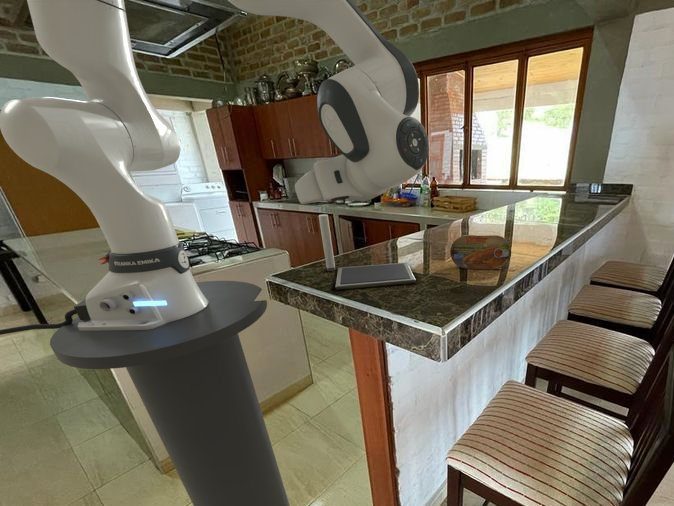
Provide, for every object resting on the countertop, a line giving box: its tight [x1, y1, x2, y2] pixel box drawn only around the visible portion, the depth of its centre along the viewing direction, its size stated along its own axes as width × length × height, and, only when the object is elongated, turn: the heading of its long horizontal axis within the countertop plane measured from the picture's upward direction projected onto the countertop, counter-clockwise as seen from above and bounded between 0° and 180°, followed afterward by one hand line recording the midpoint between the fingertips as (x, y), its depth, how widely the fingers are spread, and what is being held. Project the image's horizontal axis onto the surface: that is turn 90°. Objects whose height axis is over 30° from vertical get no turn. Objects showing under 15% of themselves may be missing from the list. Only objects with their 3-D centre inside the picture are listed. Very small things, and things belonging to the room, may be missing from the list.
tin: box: [449, 234, 512, 270], centre depth 84 cm, size 15×3×8 cm, turn 76°
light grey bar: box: [318, 213, 336, 272], centre depth 85 cm, size 2×2×14 cm
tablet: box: [334, 262, 417, 291], centre depth 82 cm, size 18×14×1 cm
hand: (331, 195), depth 73 cm, fingers open, 8 cm apart
